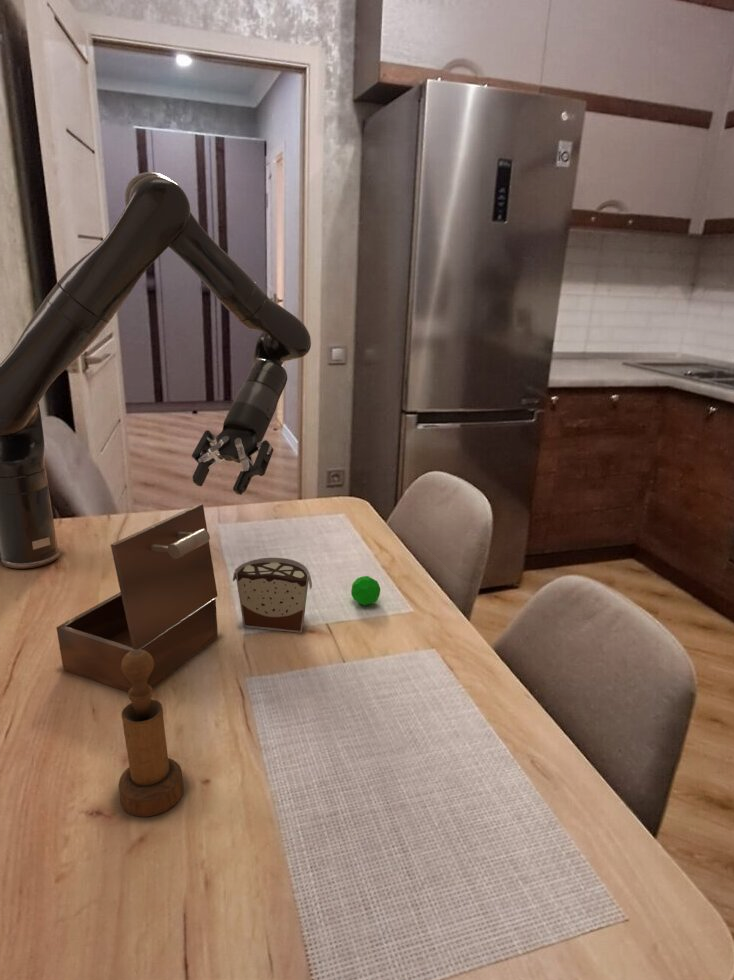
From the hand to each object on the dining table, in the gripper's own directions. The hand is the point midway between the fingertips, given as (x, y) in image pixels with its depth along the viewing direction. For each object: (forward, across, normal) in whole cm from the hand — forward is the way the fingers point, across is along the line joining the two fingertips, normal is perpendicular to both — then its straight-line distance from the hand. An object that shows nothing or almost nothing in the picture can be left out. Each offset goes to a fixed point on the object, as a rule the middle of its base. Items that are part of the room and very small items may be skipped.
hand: (216, 488), depth 118 cm
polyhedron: (+11, +29, +12) cm, 33 cm away
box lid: (+21, +13, -19) cm, 31 cm away
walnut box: (+31, +7, -8) cm, 33 cm away
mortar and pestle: (+46, +27, -23) cm, 58 cm away
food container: (+19, +19, +4) cm, 27 cm away
